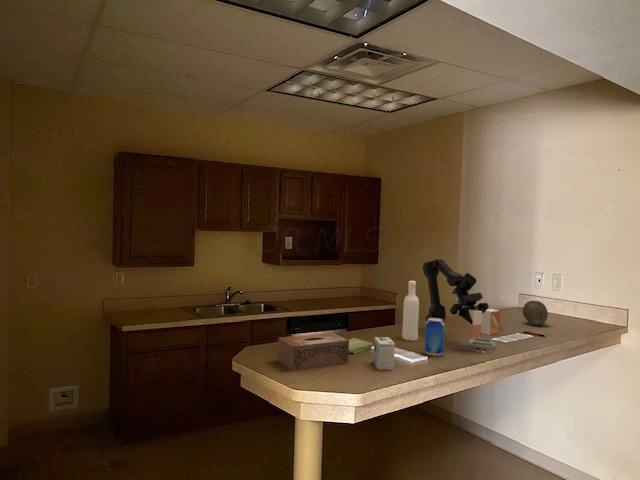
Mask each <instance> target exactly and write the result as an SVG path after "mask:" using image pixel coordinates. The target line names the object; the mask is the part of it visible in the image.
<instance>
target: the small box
mask: <svg viewBox="0 0 640 480" xmlns="http://www.w3.org/2000/svg"><path fill="white" fill-rule="evenodd" d="M500 315H501V311H500V310H498V309H492V308H488V309H487V310H486V311H485V312H484V313H482V324H481V334H485V335H487V336H491V335H498V334H500V333H499V332H500V323H499V318H500ZM500 319H501V318H500Z"/></svg>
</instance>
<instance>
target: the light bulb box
mask: <svg viewBox="0 0 640 480" xmlns="http://www.w3.org/2000/svg"><path fill="white" fill-rule="evenodd" d="M373 344H374V346H373V359H372V360H373V361H372V362H373V363H374V365H375V367H376V368H377V370H385V369H386V370H394V369H395V367H394V366H395V348H396V347H395V346H396V344H395V342H394V341H393V340H392V339H391V337H388V336H385V337H383V336H380V337H379V336H375V337H374V340H373ZM386 370H385V371H386Z"/></svg>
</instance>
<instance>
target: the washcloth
mask: <svg viewBox="0 0 640 480" xmlns="http://www.w3.org/2000/svg"><path fill="white" fill-rule="evenodd" d="M348 340H349V354H352V355H357V354H360V353H362V352H366V351H368V350H370V348H371V347H372V346H373V347H374V342H373V343H372V342H370V341H366V340H361V339H359V338H356V337H353V338H351V339H348ZM371 349H372V348H371Z"/></svg>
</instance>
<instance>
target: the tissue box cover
mask: <svg viewBox="0 0 640 480" xmlns="http://www.w3.org/2000/svg"><path fill="white" fill-rule="evenodd" d="M349 340H350V339H346V338H344V337H343V336H340V335H338V334H336V333H333V332H324V333H313V334H303V335H302V334H301V335H294V336H292V335H291V336H285V337H284V336H283V337H278V342H277V343H278V351H277V352H278V353H277V361H278V362H279V363H280V362H281V363H280V364H281V365H283V364H284V365H283V366H285V367H286V366H287V367H286V368H288V369H289V370H290V369H291V370H290V371H292V372H295V371H294V370H296V371H301V370H300V369H304V370H308V369H309V368H311V369H315V368H316V369H317V367H318V368H325V367H332V366H337V365H339V366H340V365H346V364H349V354H350V353H349ZM309 370H310V369H309Z"/></svg>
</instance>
